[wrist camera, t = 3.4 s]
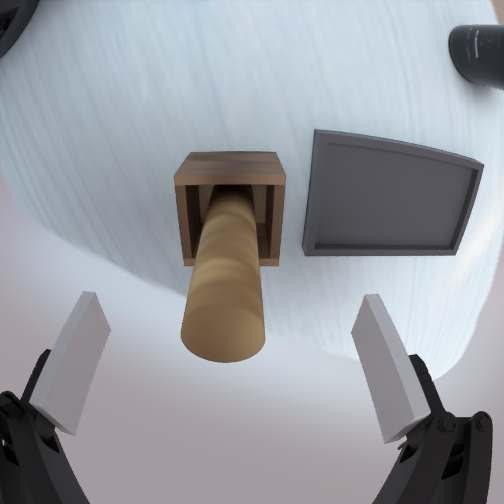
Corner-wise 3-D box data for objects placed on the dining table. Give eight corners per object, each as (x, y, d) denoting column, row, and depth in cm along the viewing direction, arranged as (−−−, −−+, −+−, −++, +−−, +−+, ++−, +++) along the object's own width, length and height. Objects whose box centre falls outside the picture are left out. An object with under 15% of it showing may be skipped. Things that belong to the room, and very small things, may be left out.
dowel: (213, 211, 26) (187, 361, 13) (211, 174, 24) (174, 309, 11) (252, 211, 26) (263, 362, 13) (253, 174, 24) (267, 310, 11)
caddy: (195, 226, 27) (184, 266, 22) (190, 152, 23) (173, 175, 18) (271, 226, 28) (278, 266, 22) (275, 152, 24) (285, 175, 18)
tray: (301, 246, 29) (305, 256, 28) (314, 129, 22) (319, 132, 21) (448, 247, 30) (455, 255, 28) (474, 159, 23) (484, 164, 22)
